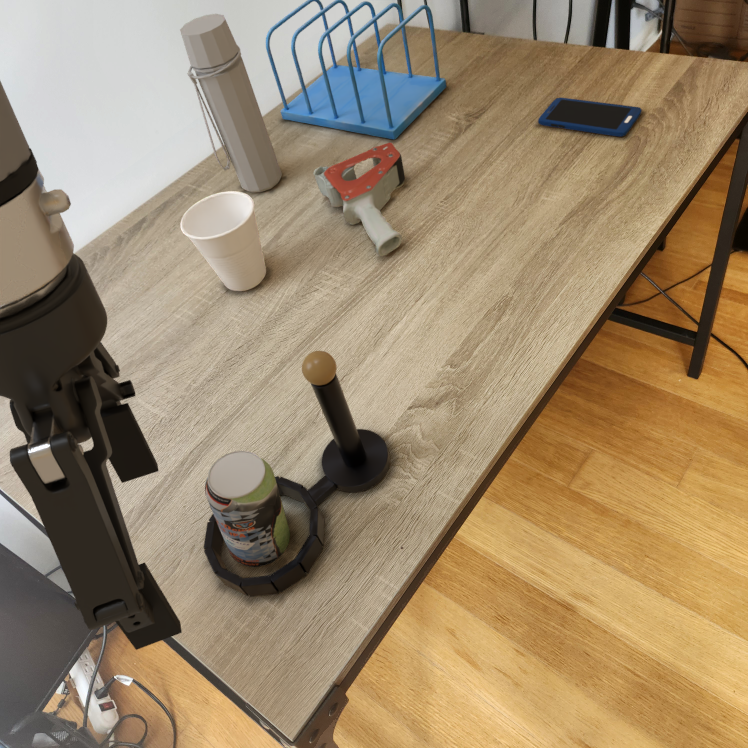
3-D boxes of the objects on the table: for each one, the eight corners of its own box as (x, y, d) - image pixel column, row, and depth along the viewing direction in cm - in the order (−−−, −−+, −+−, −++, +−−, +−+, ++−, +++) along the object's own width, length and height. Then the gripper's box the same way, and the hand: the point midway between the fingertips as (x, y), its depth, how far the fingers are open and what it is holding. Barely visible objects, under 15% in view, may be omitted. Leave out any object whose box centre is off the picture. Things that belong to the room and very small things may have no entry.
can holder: (192, 568, 63) (105, 479, 51) (299, 412, 73) (249, 305, 61) (301, 624, 58) (234, 539, 45) (401, 446, 68) (369, 337, 55)
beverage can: (222, 543, 64) (171, 481, 55) (281, 496, 67) (241, 429, 58) (255, 587, 61) (206, 528, 52) (316, 535, 63) (279, 471, 54)
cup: (256, 245, 96) (229, 181, 87) (293, 273, 90) (268, 207, 81) (200, 281, 93) (167, 219, 84) (234, 313, 87) (202, 249, 78)
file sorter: (282, 120, 119) (254, 35, 107) (336, 74, 127) (316, -10, 115) (395, 141, 107) (377, 46, 95) (447, 88, 115) (437, -5, 103)
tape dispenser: (394, 270, 88) (445, 177, 98) (388, 241, 84) (442, 147, 94) (285, 249, 95) (342, 163, 104) (274, 221, 90) (335, 134, 100)
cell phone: (624, 137, 95) (625, 133, 94) (536, 124, 102) (536, 120, 101) (643, 112, 98) (643, 107, 98) (556, 101, 105) (556, 96, 104)
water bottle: (271, 163, 110) (216, 7, 91) (292, 181, 105) (238, 20, 86) (223, 187, 108) (157, 33, 89) (242, 207, 103) (176, 48, 84)
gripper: (86, 438, 21) (238, 702, 35) (77, 161, 39) (180, 409, 53) (-167, 515, 20) (97, 759, 34) (-55, 191, 38) (87, 438, 52)
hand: (148, 545), depth 44 cm, fingers open, 13 cm apart
